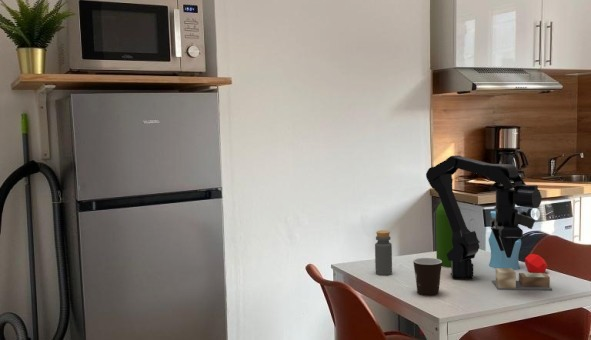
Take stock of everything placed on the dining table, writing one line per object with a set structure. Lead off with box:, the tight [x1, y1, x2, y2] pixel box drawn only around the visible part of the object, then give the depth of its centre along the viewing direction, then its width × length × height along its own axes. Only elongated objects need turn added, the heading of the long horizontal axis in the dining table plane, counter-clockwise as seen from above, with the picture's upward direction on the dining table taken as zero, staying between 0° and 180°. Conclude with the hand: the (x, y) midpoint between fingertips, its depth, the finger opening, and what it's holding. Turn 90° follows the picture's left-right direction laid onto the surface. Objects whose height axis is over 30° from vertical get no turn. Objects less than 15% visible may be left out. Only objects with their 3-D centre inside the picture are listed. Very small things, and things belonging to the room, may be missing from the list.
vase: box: [488, 210, 522, 271], centre depth 198 cm, size 8×8×20 cm
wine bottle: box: [435, 189, 462, 268], centre depth 204 cm, size 9×9×32 cm
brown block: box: [518, 272, 551, 288], centre depth 175 cm, size 8×5×3 cm, turn 81°
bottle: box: [374, 230, 393, 277], centre depth 195 cm, size 6×6×15 cm
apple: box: [524, 253, 548, 273], centre depth 191 cm, size 7×7×8 cm
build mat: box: [491, 279, 553, 291], centre depth 175 cm, size 16×9×1 cm, turn 81°
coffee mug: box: [412, 257, 443, 297], centre depth 172 cm, size 12×9×10 cm
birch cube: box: [495, 268, 517, 288], centre depth 175 cm, size 5×5×5 cm
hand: (505, 254), depth 174 cm, fingers open, 9 cm apart
